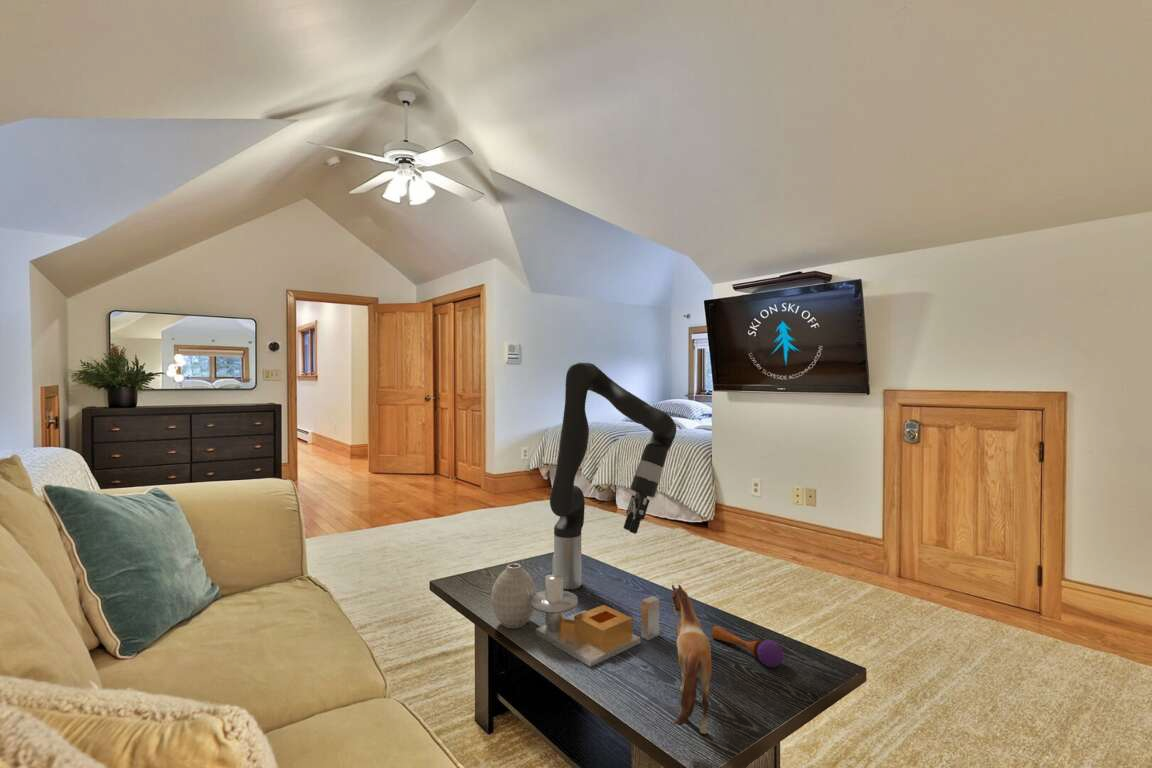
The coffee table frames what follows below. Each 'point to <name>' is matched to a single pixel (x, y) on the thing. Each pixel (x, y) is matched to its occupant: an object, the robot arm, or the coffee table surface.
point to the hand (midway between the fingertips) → (629, 531)
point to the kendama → (753, 647)
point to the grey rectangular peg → (650, 617)
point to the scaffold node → (581, 625)
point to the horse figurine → (691, 657)
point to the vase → (513, 597)
